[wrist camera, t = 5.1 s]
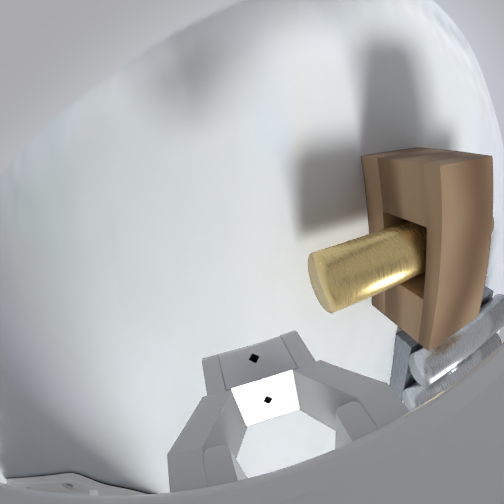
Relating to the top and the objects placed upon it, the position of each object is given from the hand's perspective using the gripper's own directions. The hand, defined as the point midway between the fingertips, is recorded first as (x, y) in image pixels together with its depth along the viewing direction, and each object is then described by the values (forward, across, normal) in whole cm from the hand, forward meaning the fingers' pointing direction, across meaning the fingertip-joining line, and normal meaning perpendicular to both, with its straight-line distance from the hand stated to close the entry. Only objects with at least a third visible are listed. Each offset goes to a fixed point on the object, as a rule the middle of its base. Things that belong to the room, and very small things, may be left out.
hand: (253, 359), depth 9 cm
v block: (+8, +18, -13) cm, 23 cm away
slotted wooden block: (+8, +12, -1) cm, 14 cm away
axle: (+6, +11, -1) cm, 12 cm away
